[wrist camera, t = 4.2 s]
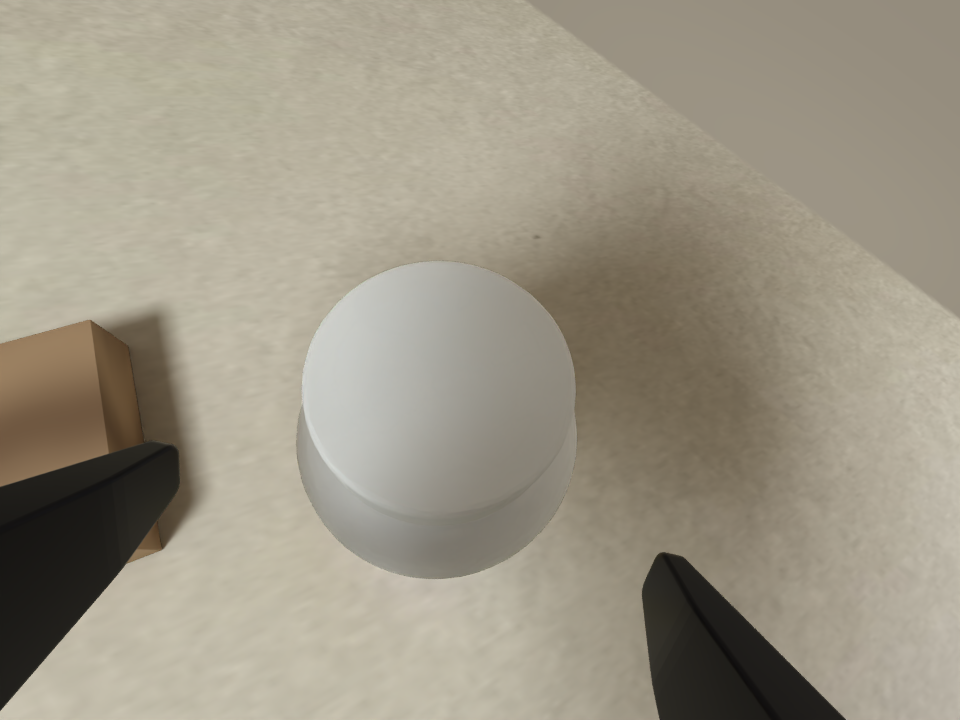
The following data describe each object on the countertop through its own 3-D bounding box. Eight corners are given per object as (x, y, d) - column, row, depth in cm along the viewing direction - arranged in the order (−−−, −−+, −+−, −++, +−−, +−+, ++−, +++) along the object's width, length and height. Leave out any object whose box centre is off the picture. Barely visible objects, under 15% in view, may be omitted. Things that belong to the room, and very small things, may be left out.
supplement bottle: (463, 380, 22) (502, 167, 10) (546, 507, 20) (717, 436, 8) (327, 456, 20) (173, 307, 8) (405, 605, 18) (357, 700, 6)
